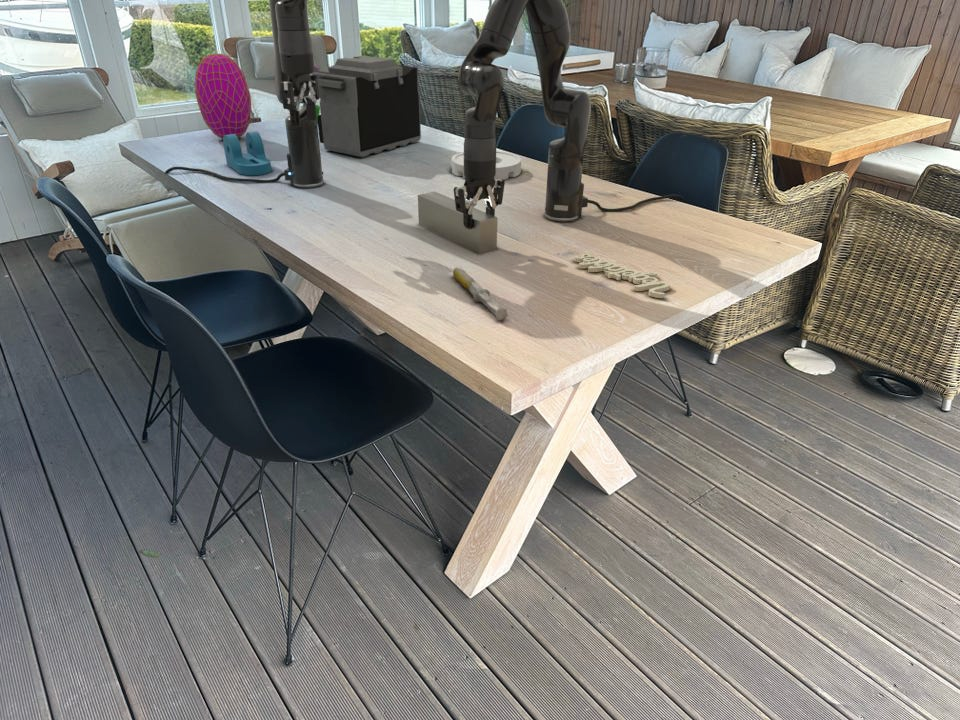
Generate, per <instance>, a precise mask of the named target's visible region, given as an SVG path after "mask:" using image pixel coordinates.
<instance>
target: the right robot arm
mask: <svg viewBox="0 0 960 720" xmlns="http://www.w3.org/2000/svg"><path fill="white" fill-rule="evenodd" d="M524 12H525V14H526V18H527V24H528V31H529V33H530V39H531V43H532V47H533V51H534V54H535V59H536V64H537V68H538V74H539V80H540V89H541V97H542V103H543V104H542V105H543V111H544V116H545V119H546V121H547V122H548V123H549V124H551V125H553V126H556V127H562V128H566V131H565V136H564V137H562V138H557V139H554V140H552V141H550V142H549V145H548V156H547V171H546V172H547V173H546V175H547V176H546V190H545V191H546V192H545V206H544V216H543V217H545V219H547V220H550V221H552V222H559V223H567V222H568V223H569V222H573V221H576V220H578V219H581V218H582V212H583V208H588V205H589V204H591V205H594V206H596V207H597V209H598V210H599V211H602V212H615V213H616V212H623V211H624V212H625V211H628V210H629V211H630V210H632V209H635V208H637V207H639V206H640V205H643V204H646V203H648V202H653V201H660V200H664V199H669V198H677V199H679V200H681V201H686V200H685V198H684V197H683V196H682V195H680V194H677V193H671V194H667V195H662V196H653V197H649V198H646V199H642V200H640V201H638V202H635V203H634V204H633V205H630V206H624V207H617V208H607V207H602V206H601V204H600V203H599V202H597V201H595V200H592V199H589V198H588V197H586V196H584V190H585V184H584V182H582V178H583V168H584V167H583V166H584V165H583V164H584V154H585V148H586V144H587V141H588V135H589V126H590V120H591V113H592V102H591V97H590V95H589V94H588V93H587V92H586V91H583V90H579V89H578V90H577V89H572V88H565V86H564V84H563V77H562V66H563V64H564V61H565V59H566V57H567V54H568V51H569V49H570V46H571V41H572V34H571V33H572V32H571V26H570V21H569V16H568V11H567V8H566V5H565V4H564V2H563V0H494V1H493V2H492V4H491V5H490V7H489V9H488V11H487V14H486V17H485V20H484V22H483V25H482V27H481V31H480V33H479V36H478V38H477V40H476V41H475V42H474V44H473V45H472V47H471V48H470V50H469V52H468V53H467V54H466V56H465V58H464V59H463V61H462V63H461V65H460V67H459V70H458V75H457V76H458V77H457V83H458V86H459V89H460V90H461V92H462V93H464V94H466V95H468V96H472V97H477V99H476V103H475V106H474V107H470V108H468V109H467V110H466V111H465V114H464V139H463V152H464V176H465V178H464V183H463V185H462V186H460V187H458V186H454V188H453V196H454V198H453V199H454V200H455V205H456V210H457V211H459V212H461V213H463V224H464V226H465V228H467V229H472V223H473V214H472V212H473V209H474V208H475V207H476V206H477V205H478V202H479V201H481V200H483V201H484V202H485V205H486V207H485V212H486V213H488V214H491V215H493V216H495V217H496V208H497V207H498V206H501V205H502V204H503V199H504V191H505V183H506V181H505V179H504V180H502V179H498V178H496V179H494V177H495V175H496V151H497V141H496V140H497V139H496V132H497V131H496V129H497V127H496V125H497V124H496V123H497V114H498V111H499V108H500V104H501V101H502V96H503V93H504V87H505V79H504V75H503V72H502V70H501V69H500V68H499V67H498V66H497V65H495V64H493V62H494V61H495V60H497V59H499V58H502V57H505V56H506V55H507V54H508V52H509V50H510V48H511V45H512V43H513V40H514V38H515V35H516V32H517V30H518V27H519V23H520V21H521V19H522V16H523V14H524ZM468 207H469V208H468Z"/></svg>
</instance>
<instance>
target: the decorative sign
mask: <svg viewBox="0 0 960 720" xmlns="http://www.w3.org/2000/svg"><path fill="white" fill-rule="evenodd" d="M574 262H575V263H578V269H588V270H587V272H588V273H598V272H603V273H604V276H606V277H607V278H608V279H614V280H617V281H621V279H622V280H627V281H628V282H630V283H633V284H634V285H633V291H636V292H643V291H647V290H648V293H647V294H648V296H649V297H652V298H656V299H664V298H665V295H666V292H668V291H669V290H670V289H671V283H670V282H668V281H659V279H658V272H657V271H648V272H639V271H637V270H634V269H630V268H628V267H627V266H626V267H625V266H624V265H619V264H618V263H615V262H611V261H610V260H604V258H601V257H598V256H596V255H592V254H590V253H587V252H586V253H582V254H581V255H580V256H578V255H575V256H574Z"/></svg>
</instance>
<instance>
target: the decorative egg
mask: <svg viewBox="0 0 960 720" xmlns="http://www.w3.org/2000/svg"><path fill="white" fill-rule="evenodd" d="M194 81H195V82H194V90H195V98H196V102H197V105H198V109H199V111H200V114H201V117H202V119H203V121H204V123H205V124H206V126H207V127H208V129H209V130H210V131H211V132H212V134H213V135H215V136H216V137H218V138H219V139H222V140H223V137H224V135H230V134H235V135H236V136H237V138H238V139H239V138H241V137H243V135H244V134H246V133H247V130H248V128H249V126H250V123H251V122H250V121H251V118H252V96H251V92H250V89H249V86H248V82H247V79H246V76H245V74H244V72H243V70H242V69H241V67H240V66H239V64H238V63H237V62H236V60H235V59H233V58H231V57H230V55H226V54H222V53H211V54H209V55H208V54H207V55H206V56H204V57H203V58H202V59H201V60H200V61H199V63H198V65H197V68H196V72H195V76H194Z"/></svg>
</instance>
